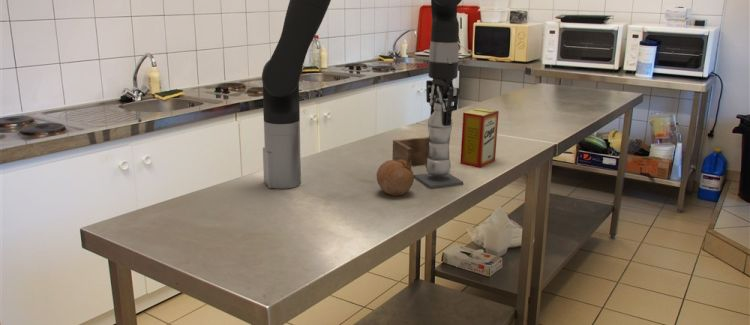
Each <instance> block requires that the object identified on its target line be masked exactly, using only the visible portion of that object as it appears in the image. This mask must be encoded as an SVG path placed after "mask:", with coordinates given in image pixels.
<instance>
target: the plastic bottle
mask: <svg viewBox="0 0 750 325" xmlns="http://www.w3.org/2000/svg"><path fill="white" fill-rule="evenodd" d="M436 101H437V100H436ZM446 107H447V103H446ZM433 109H434V112H433V113H432V114H431V113H430V114H431V116H430V115H429V117H428V119H427V130H428V131H427V132H428V137H429V151H428V158H427V162H426V164H425V169H426V172H427V173H429V174H430V175H434V176H445V175H447V174H448V173H449V174H450V171H451V164H452V163H451V159H450V140H451V133H452V129H453V119H452V118H451V125H450V126H443V125H442V121H443V112H444V111H443V106H442V104H441V103H440V101H437V102H434V107H433Z"/></svg>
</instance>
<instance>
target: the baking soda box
mask: <svg viewBox="0 0 750 325" xmlns="http://www.w3.org/2000/svg"><path fill="white" fill-rule="evenodd" d="M499 113H500V112H499V110H495V109H489V108H483V107H477V108H474V109H471V110H468V111H465V112H463V113H462V128H461V146H460V147H461V149H460V159H459V161H460V162H459V163H460V165H462V166H463V165H464V166H468V167H473V168H477V169H480V168H483V167H485V166H487V165H490V164H492V163H495V162H496V153H497V136H498V124H499Z"/></svg>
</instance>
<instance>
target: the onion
mask: <svg viewBox="0 0 750 325" xmlns="http://www.w3.org/2000/svg"><path fill="white" fill-rule="evenodd" d="M414 175H415V174H414V171H413V170H412V167H411V168H410V165H409V164H408V163H407V161H406V160H392V159H391V160H389V159H388V160H386V161H384V162H383V163H382V164H380V165H379V167H378V169H377V172H376V182H377V184H378V185H379V187H380V189H381V190H382V191H383V192H384V193H385V194H386V195H390V196H391V197H398V196H402V195H403V194H406V193H407V192H408V191H410V189H411V187H412V186H413V184H414V179H415V178H414Z"/></svg>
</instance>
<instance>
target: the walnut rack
mask: <svg viewBox="0 0 750 325" xmlns="http://www.w3.org/2000/svg"><path fill="white" fill-rule="evenodd" d="M428 151H429V136H423V137H422V136H421V137H415V138H414V137H412V138H403V139H402V138H401V139H393V140H392V159H391V160H406V161H407V163H408V164H409V165H410V168H411V169H412V166H413V167H414V166H422V165H426V162H427V158H428Z"/></svg>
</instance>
